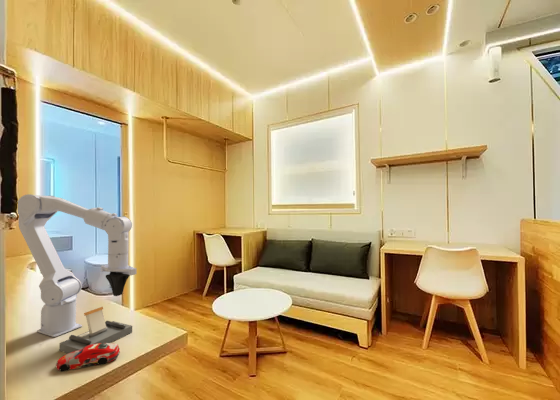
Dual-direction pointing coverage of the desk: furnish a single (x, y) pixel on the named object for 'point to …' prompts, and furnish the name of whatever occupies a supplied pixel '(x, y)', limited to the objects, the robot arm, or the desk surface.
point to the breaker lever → (95, 321)
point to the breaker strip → (96, 337)
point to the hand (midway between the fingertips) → (117, 295)
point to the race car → (89, 356)
